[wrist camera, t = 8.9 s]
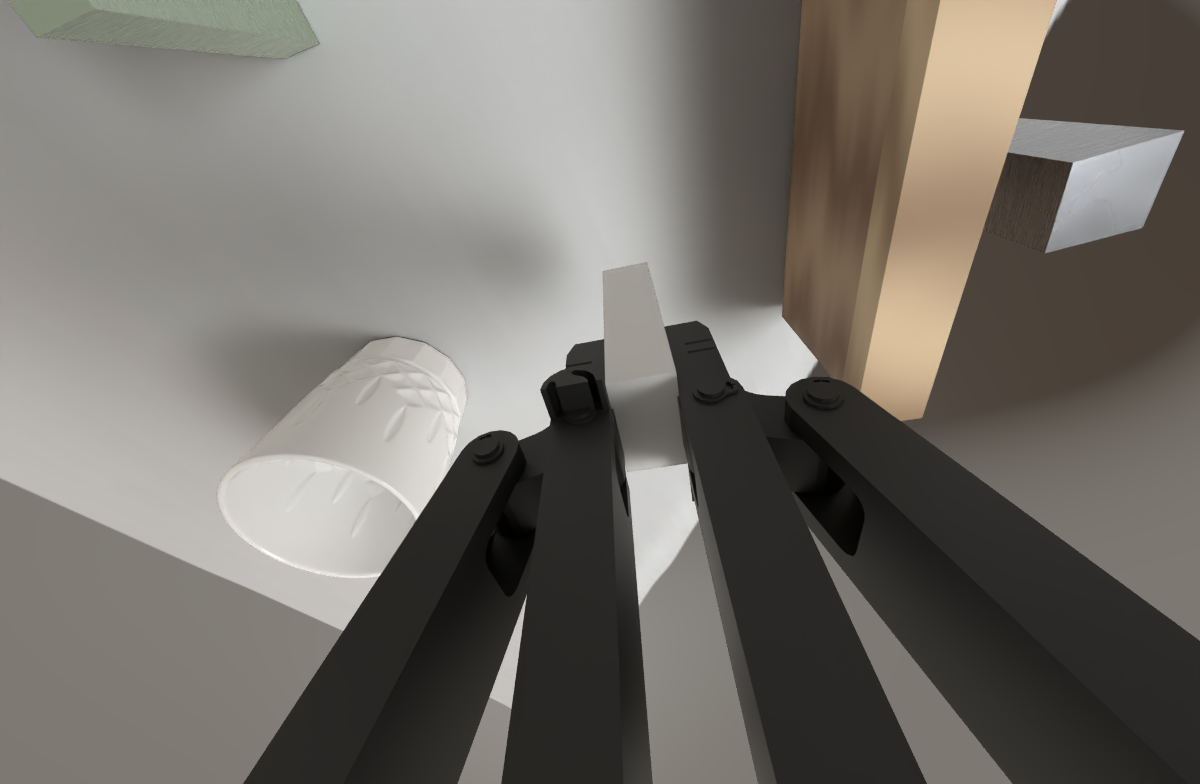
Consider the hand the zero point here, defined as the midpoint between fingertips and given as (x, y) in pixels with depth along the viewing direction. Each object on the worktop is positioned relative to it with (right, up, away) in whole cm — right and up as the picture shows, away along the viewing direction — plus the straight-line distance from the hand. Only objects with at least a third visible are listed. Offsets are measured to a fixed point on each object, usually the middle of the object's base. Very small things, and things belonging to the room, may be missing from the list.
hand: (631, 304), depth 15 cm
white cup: (-12, -3, +11) cm, 17 cm away
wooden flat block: (+8, +7, +3) cm, 11 cm away
